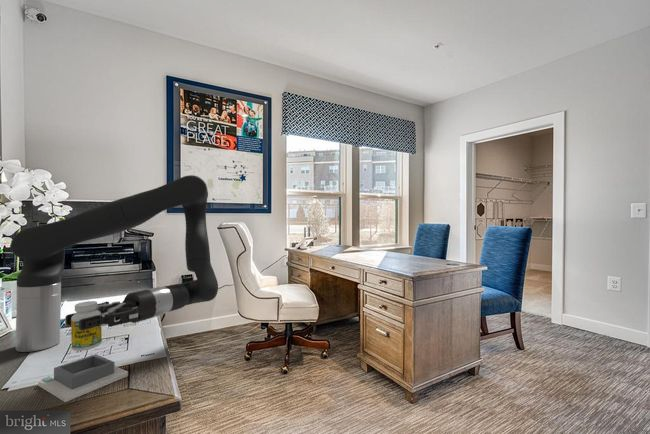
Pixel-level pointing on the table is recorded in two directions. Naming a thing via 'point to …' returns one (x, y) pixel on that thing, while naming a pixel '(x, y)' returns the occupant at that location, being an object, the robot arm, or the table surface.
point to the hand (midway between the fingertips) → (73, 322)
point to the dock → (81, 377)
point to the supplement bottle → (88, 336)
